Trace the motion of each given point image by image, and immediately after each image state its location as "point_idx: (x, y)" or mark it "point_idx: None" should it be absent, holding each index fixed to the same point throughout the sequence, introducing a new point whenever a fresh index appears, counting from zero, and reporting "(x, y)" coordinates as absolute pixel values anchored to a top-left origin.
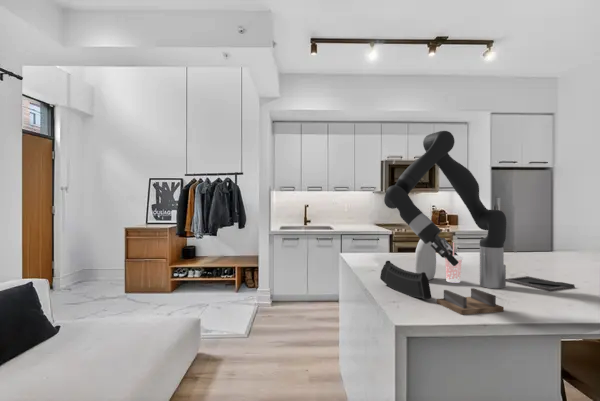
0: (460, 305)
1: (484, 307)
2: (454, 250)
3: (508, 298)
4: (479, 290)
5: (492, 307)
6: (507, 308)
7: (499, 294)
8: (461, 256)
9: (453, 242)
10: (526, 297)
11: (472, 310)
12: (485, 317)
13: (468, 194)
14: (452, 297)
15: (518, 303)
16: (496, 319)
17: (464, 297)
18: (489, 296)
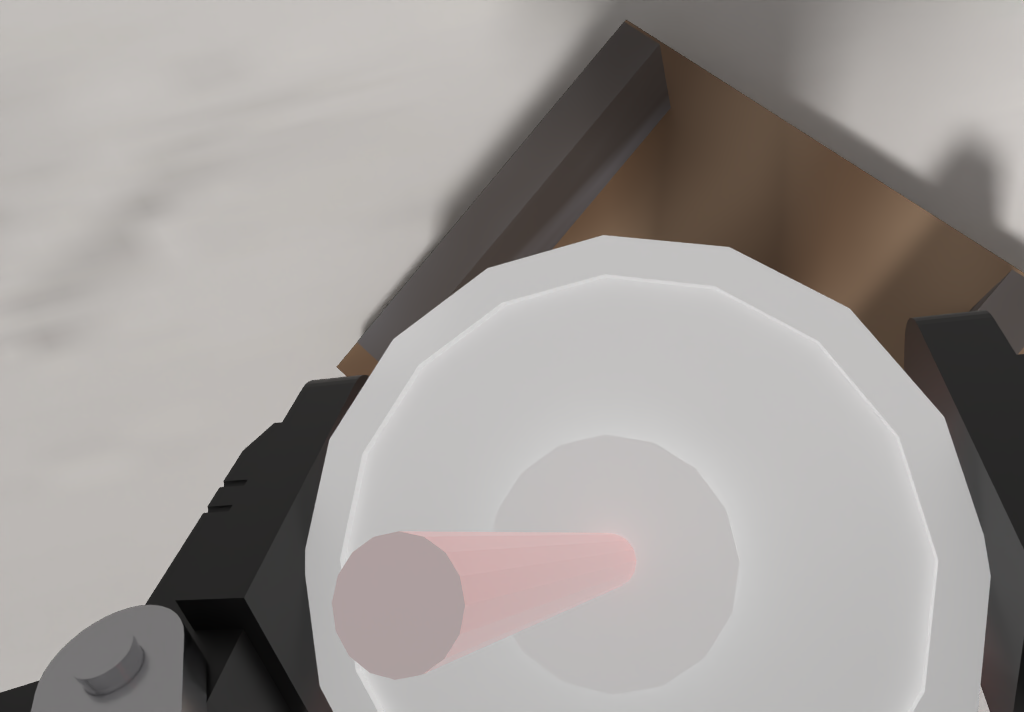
0: None
1: (784, 158)
2: (123, 629)
3: (116, 139)
4: (449, 248)
5: (723, 95)
6: (489, 51)
7: (5, 240)
8: (473, 309)
9: (462, 596)
10: (11, 33)
11: (968, 244)
12: (998, 116)
13: None
14: None
15: (251, 27)
16: (992, 16)
17: (1021, 296)
18: (625, 98)
